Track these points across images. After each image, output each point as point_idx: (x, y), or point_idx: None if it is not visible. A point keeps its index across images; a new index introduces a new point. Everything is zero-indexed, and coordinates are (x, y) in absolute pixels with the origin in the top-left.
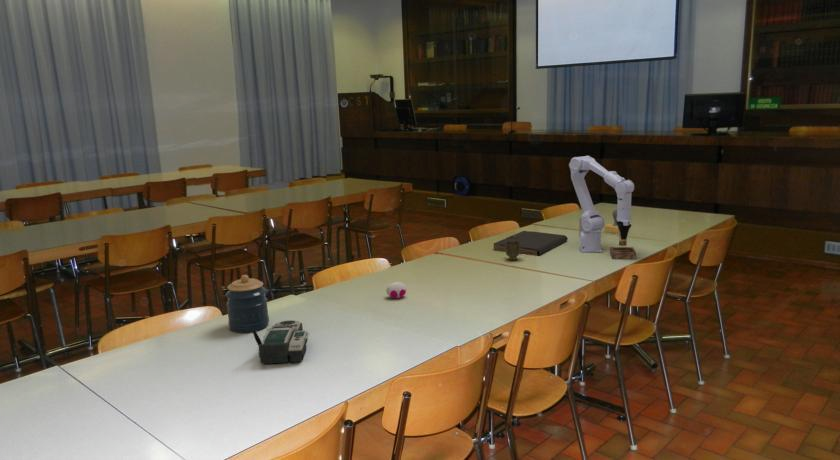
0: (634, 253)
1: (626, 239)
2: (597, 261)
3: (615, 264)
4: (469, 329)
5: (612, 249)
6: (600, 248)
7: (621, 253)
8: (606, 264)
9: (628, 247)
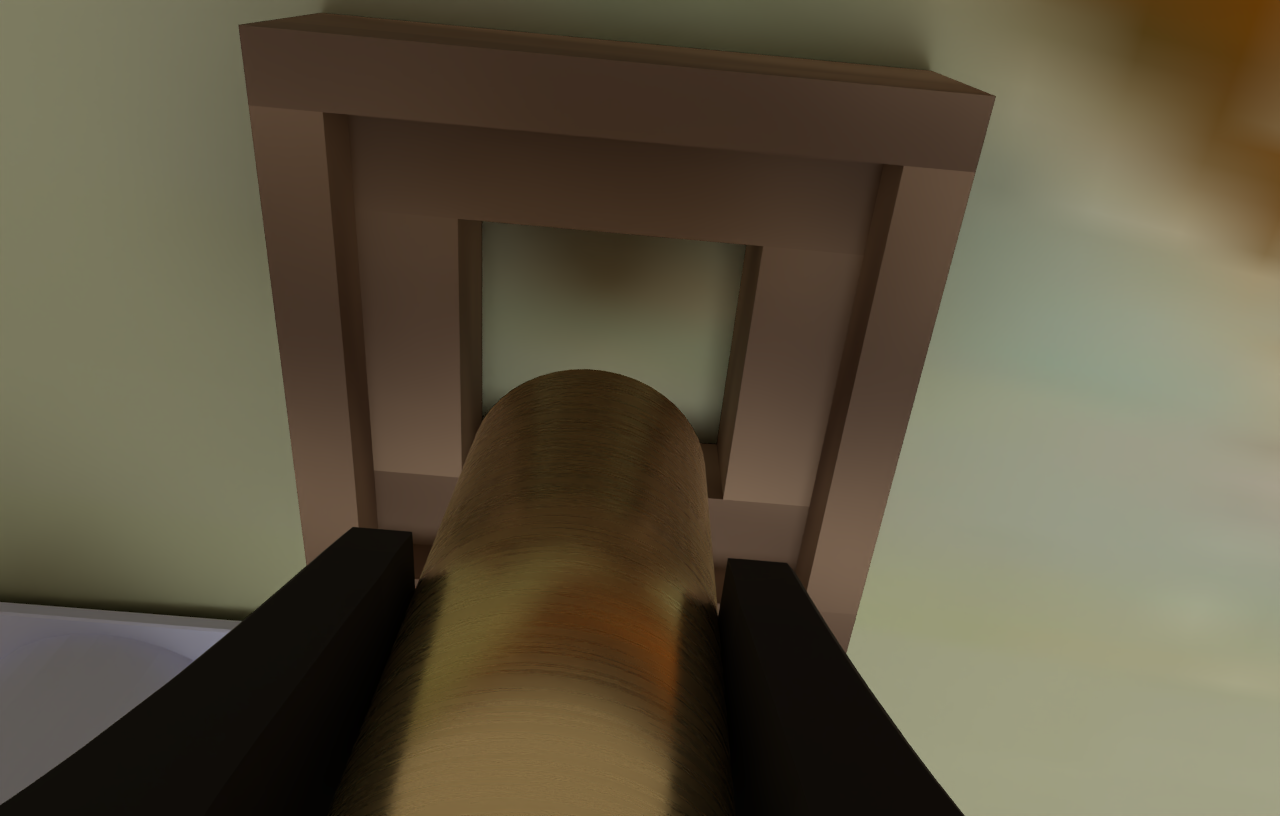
0: (975, 147)
1: (657, 510)
2: (934, 772)
3: (1220, 573)
4: None
5: None
6: (127, 655)
7: (888, 470)
8: (1165, 695)
9: (287, 176)
